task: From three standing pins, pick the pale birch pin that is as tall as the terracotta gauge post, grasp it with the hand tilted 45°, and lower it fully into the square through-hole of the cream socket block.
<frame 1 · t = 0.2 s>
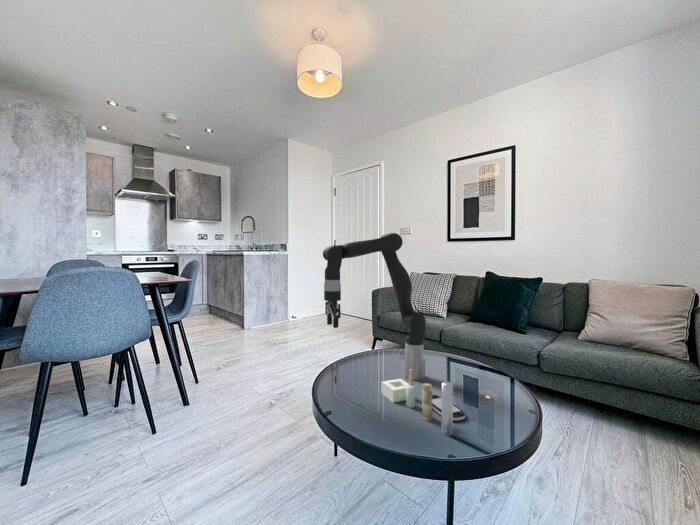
hand: (332, 326, 131), 29 cm above the table, tool pointing down, fingers open, 8 cm apart
aluminium pin: (447, 432, 98), on the table
gaming console: (443, 410, 114), on the table
birch pin: (427, 418, 107), on the table
sage pin: (410, 405, 117), on the table
socket block: (397, 395, 126), on the table
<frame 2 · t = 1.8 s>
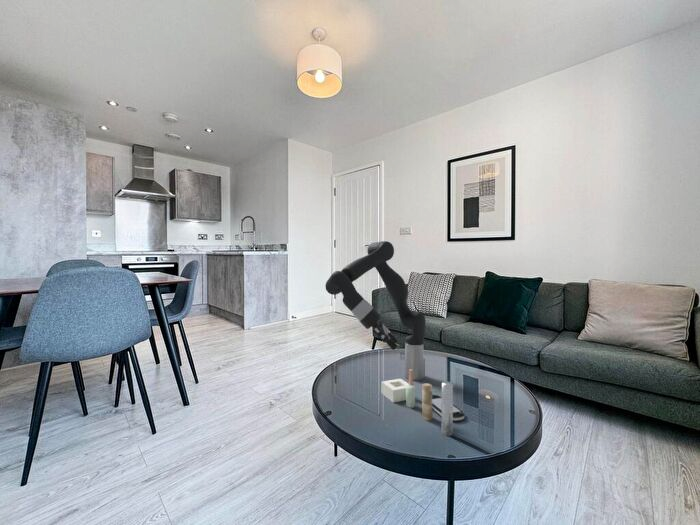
hand: (395, 345, 110), 26 cm above the table, tool tilted 45°, fingers open, 8 cm apart
nothing on the table moved.
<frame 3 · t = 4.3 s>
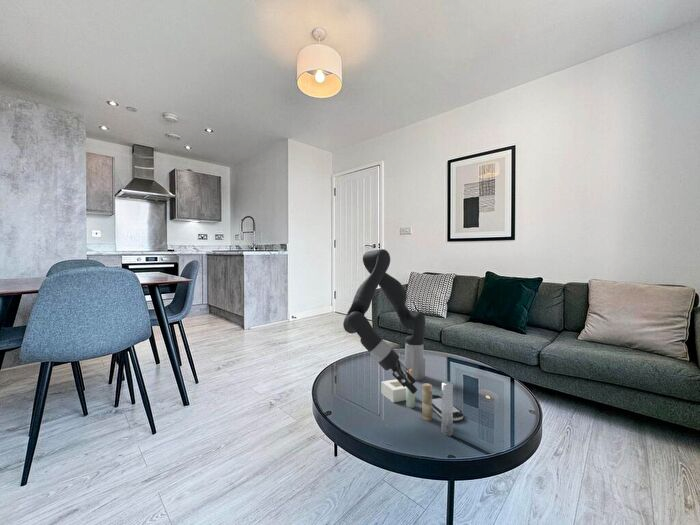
hand: (414, 387, 108), 11 cm above the table, tool tilted 45°, fingers open, 8 cm apart
nothing on the table moved.
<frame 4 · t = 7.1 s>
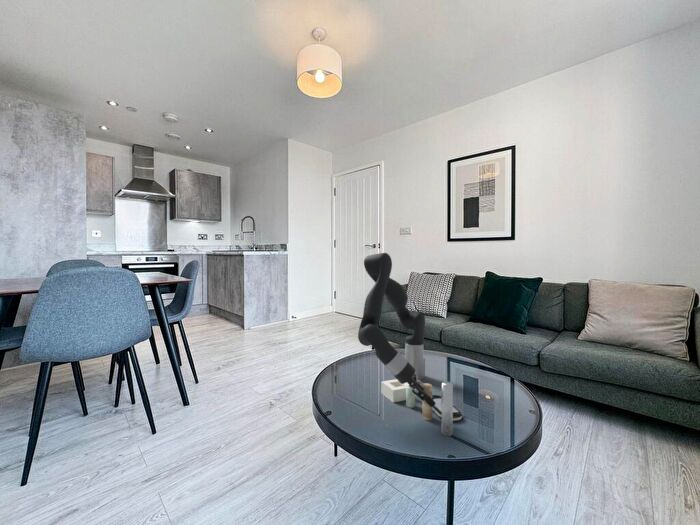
hand: (432, 402, 107), 6 cm above the table, tool tilted 45°, fingers closed on birch pin, 3 cm apart
birch pin: (427, 417, 107), on the table, touching gripper
everything else where it was.
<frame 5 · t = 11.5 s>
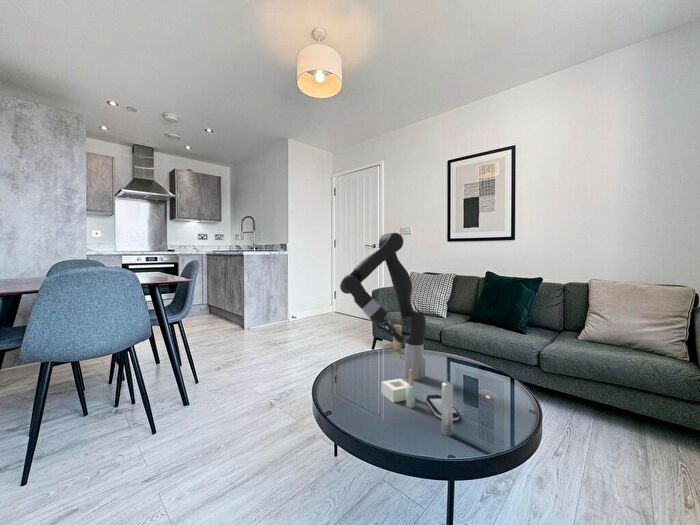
hand: (401, 340, 127), 24 cm above the table, tool tilted 45°, fingers closed on birch pin, 3 cm apart
birch pin: (397, 353, 127), point 18 cm above the table, touching gripper
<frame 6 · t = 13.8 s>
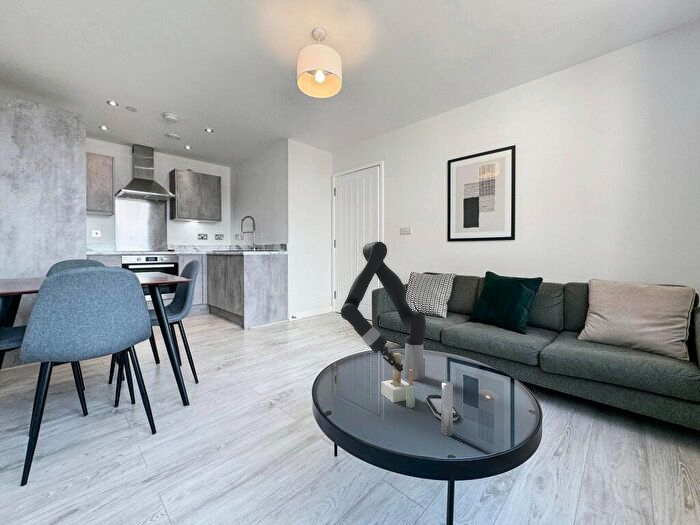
hand: (401, 368, 126), 12 cm above the table, tool tilted 45°, fingers closed on birch pin, 3 cm apart
birch pin: (396, 382, 126), point 6 cm above the table, touching gripper
when the fingers open (8 cm above the table, at t = 15.9 s): birch pin drops 3 cm, resting in socket block.
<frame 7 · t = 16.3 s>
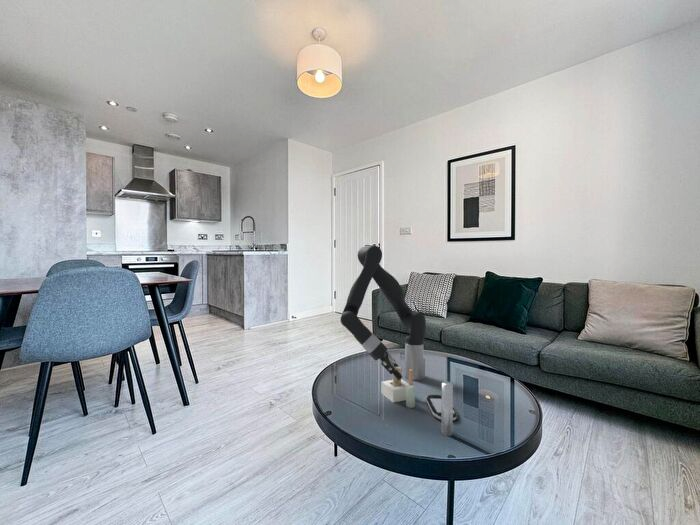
hand: (400, 374, 126), 9 cm above the table, tool tilted 45°, fingers open, 7 cm apart
birch pin: (396, 395, 126), resting in socket block
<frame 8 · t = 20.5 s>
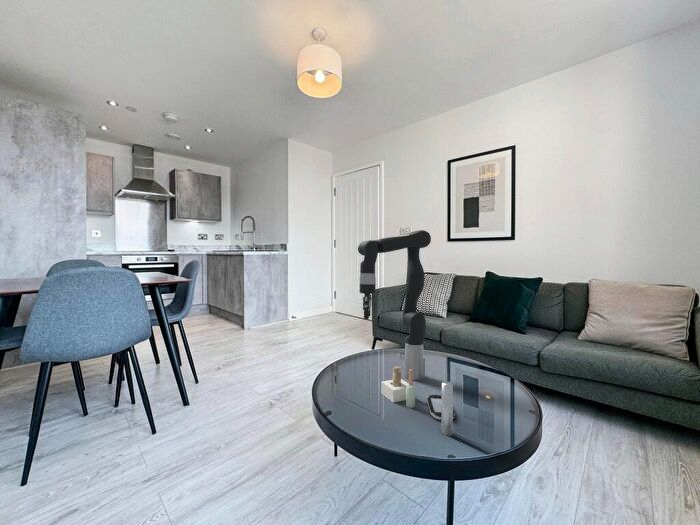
hand: (367, 317, 136), 32 cm above the table, tool pointing down, fingers open, 8 cm apart
at the end: birch pin 0.1 cm off-centre on the socket block, point 0.0 cm above the socket block's base; birch pin tilted 0°; sage pin moved 0.0 cm from its start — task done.
